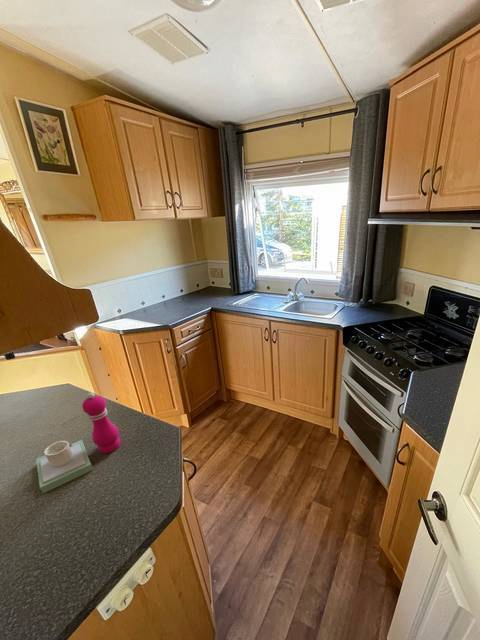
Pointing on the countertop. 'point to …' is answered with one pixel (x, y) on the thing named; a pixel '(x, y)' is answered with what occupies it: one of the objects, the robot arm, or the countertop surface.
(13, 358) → the robot arm
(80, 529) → the countertop surface
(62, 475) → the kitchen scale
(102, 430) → the pepper mill
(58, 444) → the dip bowl
